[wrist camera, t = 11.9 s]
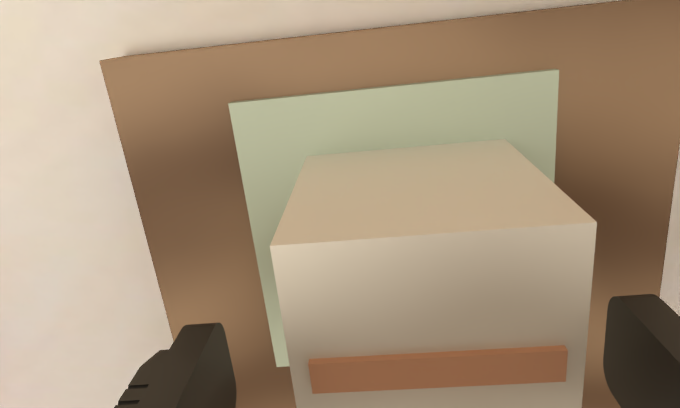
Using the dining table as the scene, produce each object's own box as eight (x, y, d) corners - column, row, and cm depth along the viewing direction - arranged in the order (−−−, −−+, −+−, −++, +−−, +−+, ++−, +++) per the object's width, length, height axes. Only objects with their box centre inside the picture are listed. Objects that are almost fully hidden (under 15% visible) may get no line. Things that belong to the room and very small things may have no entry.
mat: (544, 345, 17) (546, 351, 16) (278, 361, 18) (276, 367, 17) (555, 68, 14) (559, 69, 13) (230, 101, 14) (228, 103, 14)
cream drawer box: (505, 138, 14) (601, 225, 8) (502, 310, 16) (579, 477, 10) (307, 156, 15) (268, 249, 9) (328, 321, 16) (307, 486, 11)
